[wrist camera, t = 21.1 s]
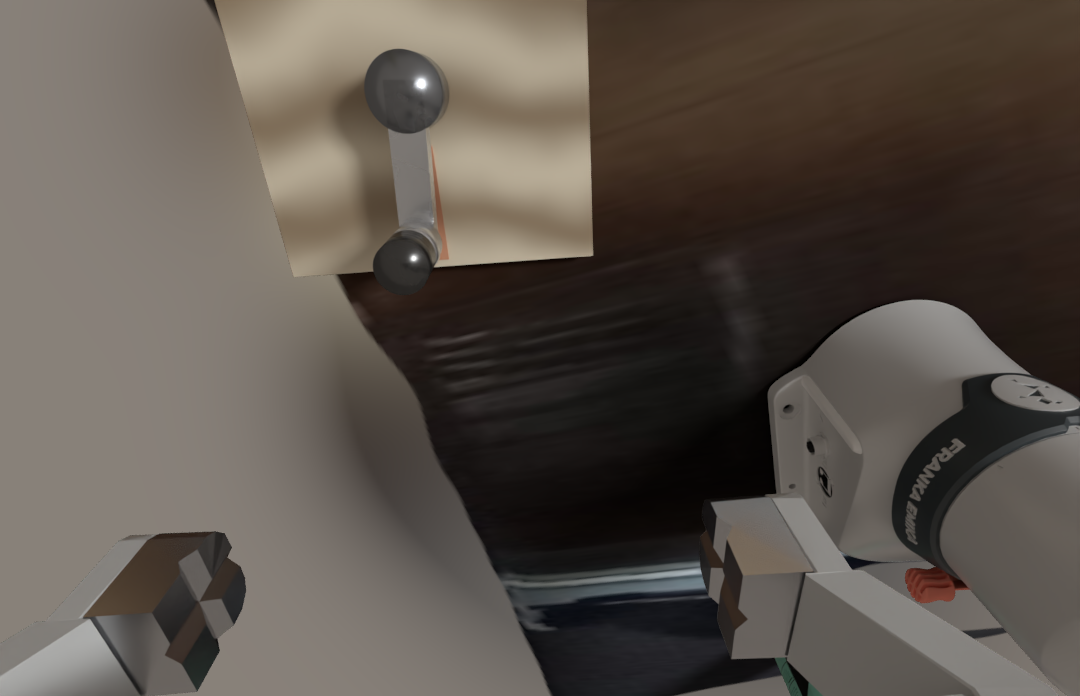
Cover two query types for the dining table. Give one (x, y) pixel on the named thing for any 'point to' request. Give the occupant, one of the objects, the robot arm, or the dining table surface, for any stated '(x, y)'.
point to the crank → (408, 162)
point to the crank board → (456, 140)
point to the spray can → (795, 680)
